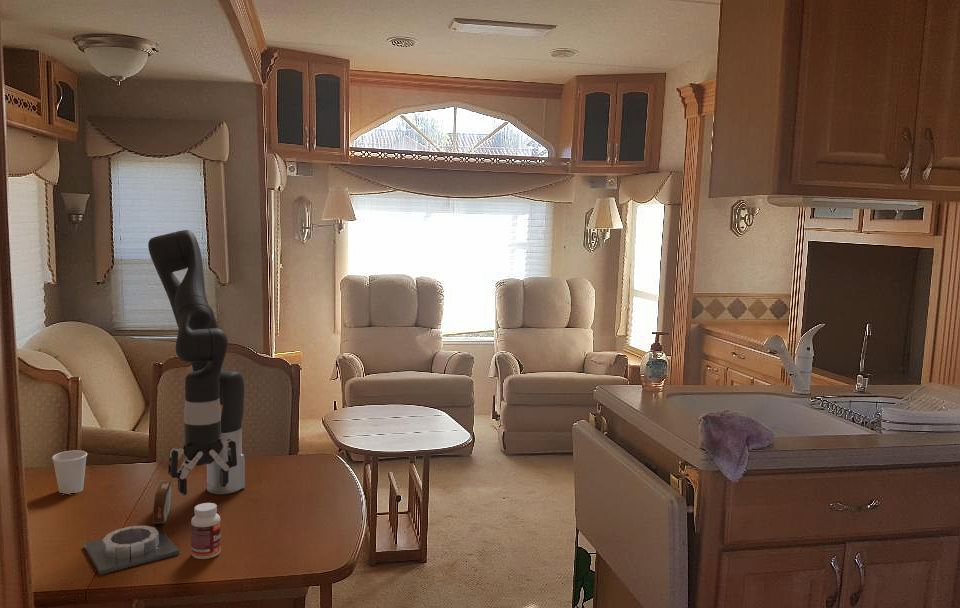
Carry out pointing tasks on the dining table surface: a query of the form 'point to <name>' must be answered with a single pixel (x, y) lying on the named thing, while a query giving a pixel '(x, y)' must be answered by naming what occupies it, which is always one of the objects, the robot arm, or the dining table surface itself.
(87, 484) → the dining table surface
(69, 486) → the dixie cup
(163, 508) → the tin
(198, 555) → the pill bottle
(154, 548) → the collar
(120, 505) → the dining table surface
